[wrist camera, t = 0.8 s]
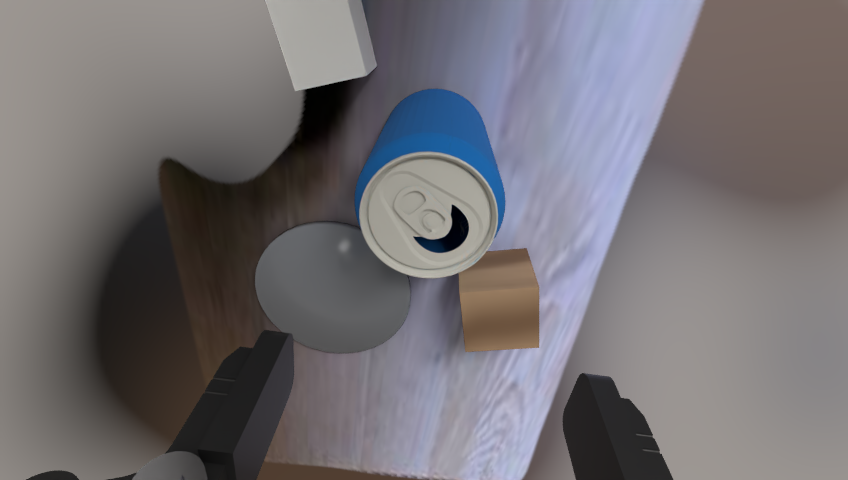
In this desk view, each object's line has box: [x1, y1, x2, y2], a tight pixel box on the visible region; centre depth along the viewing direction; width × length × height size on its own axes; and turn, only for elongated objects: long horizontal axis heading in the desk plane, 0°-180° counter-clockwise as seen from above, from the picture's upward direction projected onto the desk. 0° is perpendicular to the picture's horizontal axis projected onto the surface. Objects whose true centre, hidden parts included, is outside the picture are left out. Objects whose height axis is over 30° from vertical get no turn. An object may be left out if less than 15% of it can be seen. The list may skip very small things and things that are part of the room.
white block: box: [265, 0, 377, 91], centre depth 23 cm, size 6×4×4 cm, turn 12°
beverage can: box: [355, 89, 505, 278], centre depth 23 cm, size 6×6×12 cm
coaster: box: [255, 221, 411, 353], centre depth 34 cm, size 12×12×1 cm
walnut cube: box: [459, 248, 539, 352], centre depth 31 cm, size 5×5×5 cm
